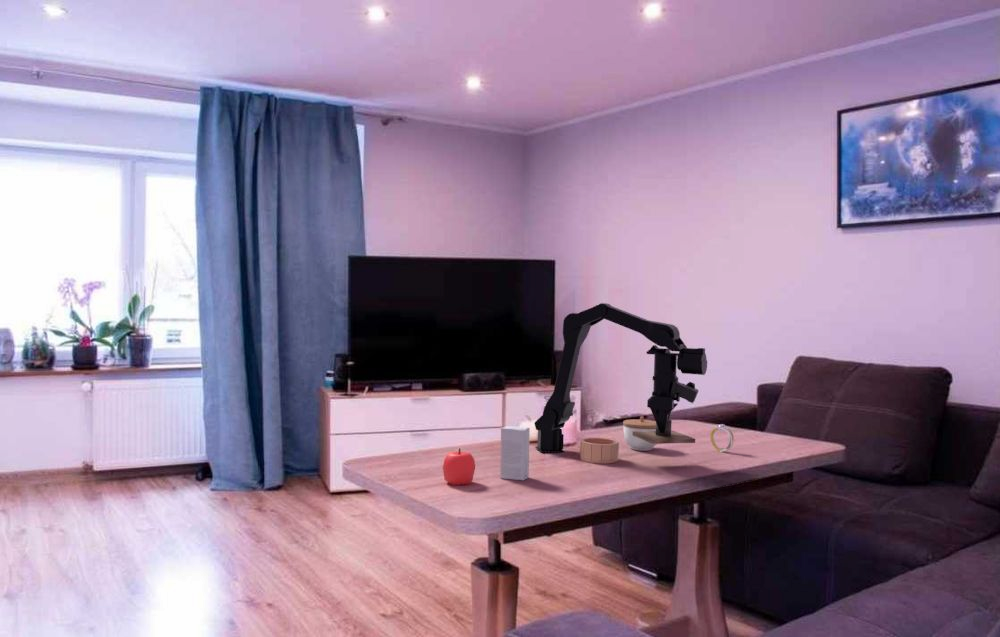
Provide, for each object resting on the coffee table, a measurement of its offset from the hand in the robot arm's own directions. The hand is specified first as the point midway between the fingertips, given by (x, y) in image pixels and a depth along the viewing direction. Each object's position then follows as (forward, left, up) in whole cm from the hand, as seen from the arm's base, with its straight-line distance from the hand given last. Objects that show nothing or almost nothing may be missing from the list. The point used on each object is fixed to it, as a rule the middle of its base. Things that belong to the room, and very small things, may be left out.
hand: (663, 431), depth 193 cm
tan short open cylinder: (-14, +9, -9) cm, 19 cm away
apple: (-56, -11, -9) cm, 58 cm away
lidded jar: (+4, +22, -9) cm, 24 cm away
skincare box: (-42, -8, -9) cm, 44 cm away
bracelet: (+26, +15, -9) cm, 31 cm away
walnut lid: (0, 0, -2) cm, 2 cm away
